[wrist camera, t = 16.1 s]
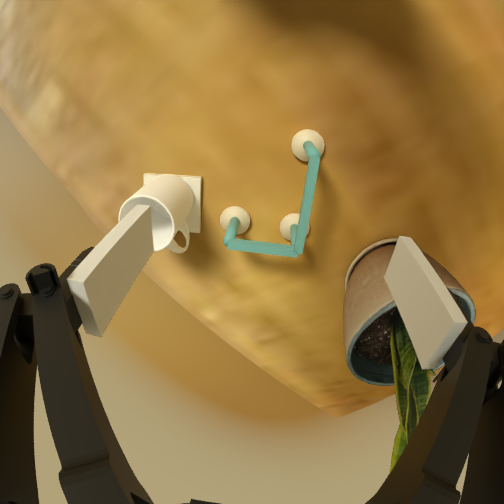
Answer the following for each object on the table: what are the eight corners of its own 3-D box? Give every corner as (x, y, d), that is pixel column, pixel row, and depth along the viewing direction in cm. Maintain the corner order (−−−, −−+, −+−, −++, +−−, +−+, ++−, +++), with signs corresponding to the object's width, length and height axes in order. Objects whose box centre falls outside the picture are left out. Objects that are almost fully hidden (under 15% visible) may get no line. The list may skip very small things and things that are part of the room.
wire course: (227, 120, 40) (215, 126, 33) (325, 132, 40) (338, 141, 33) (220, 230, 50) (210, 258, 43) (306, 240, 50) (311, 270, 42)
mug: (175, 242, 51) (155, 277, 42) (137, 188, 46) (107, 214, 37) (215, 222, 49) (200, 256, 40) (176, 162, 44) (150, 183, 34)
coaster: (145, 173, 46) (143, 174, 45) (201, 176, 45) (200, 177, 45) (148, 225, 51) (146, 227, 50) (200, 231, 51) (199, 233, 50)
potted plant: (342, 215, 47) (429, 460, 13) (444, 229, 46) (562, 401, 12) (320, 309, 58) (339, 508, 24) (410, 312, 57) (465, 476, 23)
